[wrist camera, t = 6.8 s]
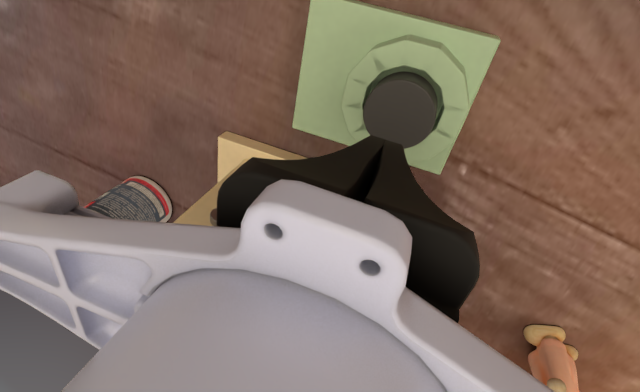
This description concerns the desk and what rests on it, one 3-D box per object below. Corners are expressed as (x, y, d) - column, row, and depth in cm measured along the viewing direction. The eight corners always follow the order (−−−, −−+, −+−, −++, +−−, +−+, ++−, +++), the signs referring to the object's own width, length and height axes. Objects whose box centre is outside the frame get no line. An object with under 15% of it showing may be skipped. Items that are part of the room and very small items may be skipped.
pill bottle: (130, 163, 32) (37, 219, 25) (179, 195, 32) (100, 260, 25) (123, 201, 35) (38, 260, 28) (167, 230, 35) (94, 296, 28)
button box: (499, 36, 18) (505, 46, 16) (440, 166, 23) (438, 189, 21) (318, -9, 20) (299, -7, 17) (298, 121, 24) (280, 138, 22)
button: (448, 81, 18) (447, 91, 16) (423, 145, 20) (420, 158, 18) (379, 62, 18) (373, 70, 17) (362, 126, 20) (355, 137, 19)
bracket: (338, 167, 25) (284, 256, 18) (320, 238, 29) (270, 336, 22) (226, 130, 27) (130, 197, 19) (224, 202, 31) (144, 282, 23)
